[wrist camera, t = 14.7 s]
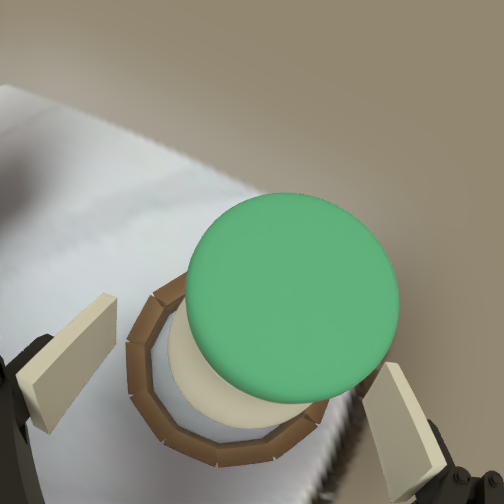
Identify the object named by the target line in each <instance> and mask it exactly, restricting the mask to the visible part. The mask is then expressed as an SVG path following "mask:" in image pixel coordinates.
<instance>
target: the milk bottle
mask: <svg viewBox="0 0 504 504" xmlns="http://www.w3.org/2000/svg"><path fill="white" fill-rule="evenodd" d="M398 315H399V293H398V286H397V281H396V277H395V274H394V271H393V268H392V265H391V263H390V261H389V258H388V256H387V255H386V253H385V251H384V249H383V248H382V246H381V244H380V243H379V241H378V240H377V239H376V238H375V236H374V235H373V234H372V233H371V232H370V231H369V230H368V228H367V227H366V226H364V224H362V223H361V222H360V221H359V220H358V219H357V218H355V217H354V216H353V215H351V214H350V213H348V212H347V211H345V210H344V209H342V208H340V207H338V206H337V205H335V204H332V203H330V202H328V201H325V200H323V199H320V198H316V197H313V196H309V195H304V194H296V193H273V194H267V195H262V196H258V197H254V198H251V199H248V200H246V201H244V202H241V203H239V204H237V205H236V206H234V207H232V208H230V209H229V210H228V211H226V212H225V213H223V214H222V215H221V216H220V217H219V218H218V219H216V220H215V221H214V222H213V224H212V225H211V226H210V227H209V228H208V229H207V231H206V232H205V233H204V235H203V236H202V238H201V240H200V241H199V243H198V245H197V247H196V248H195V251H194V253H193V255H192V257H191V260H190V263H189V267H188V271H187V276H186V284H185V298H184V299H183V301H182V302H181V304H180V305H179V307H178V309H177V311H176V313H175V315H174V318H173V320H172V323H171V327H170V331H169V336H168V358H169V364H170V369H171V372H172V375H173V378H174V380H175V382H176V384H177V387H178V388H179V390H180V391H181V393H182V394H183V396H184V397H185V398H186V400H187V401H188V402H189V403H190V404H191V405H192V406H193V407H194V408H195V409H197V410H198V411H199V412H200V413H202V414H203V415H205V416H206V417H208V418H210V419H212V420H213V421H216V422H218V423H220V424H224V425H227V426H231V427H235V428H244V429H257V428H266V427H270V426H274V425H278V424H281V423H283V422H285V421H288V420H290V419H292V418H293V417H295V416H297V415H298V414H300V413H301V412H302V411H304V410H305V409H306V408H308V407H309V406H310V405H311V404H312V403H313V402H318V401H323V400H326V399H330V398H333V397H335V396H338V395H340V394H342V393H344V392H346V391H348V390H350V389H351V388H353V387H354V386H356V385H357V384H358V383H360V382H361V381H362V380H363V379H364V378H365V377H367V376H368V375H369V374H370V373H371V372H372V371H373V370H374V369H375V368H376V367H377V365H378V364H379V363H380V361H381V360H382V359H383V357H384V356H385V354H386V352H387V351H388V349H389V347H390V345H391V342H392V340H393V337H394V334H395V331H396V327H397V322H398Z"/></svg>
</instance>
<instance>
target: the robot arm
mask: <svg viewBox="0 0 504 504" xmlns="http://www.w3.org/2000/svg"><path fill="white" fill-rule="evenodd" d="M116 320H117V297H114V296H111V295H108V294H105V293H103V294H102V295H101V296H100V297H98V298H97V299H96V300H95V301H94V302H93V303H91V304H90V305H89V306H88V307H87V308H86V309H85V310H84V311H82V312H81V313H80V314H79V315H78V316H77V317H76V318H75V319H74V320H72V321H71V322H70V323H69V324H68V325H67V326H66V327H65V328H64V329H63V330H62V331H60V332H59V333H58V334H57V335H56V336H55V337H53V336H51V335H49V334H45V335H43V336H40V337H38V338H36V339H35V340H34V341H33V342H32V343H31V344H30V345H29V346H27V347H26V348H25V349H24V351H22V352H21V353H20V354H19V355H17V356H16V357H15V358H14V359H13V360H12V361H11V362H10V363H9V364H8V365H7V366H6V367H5V364H4V360H3V358H2V357H1V356H0V504H45V502H44V498H43V495H42V492H41V488H40V485H39V481H38V477H37V473H36V469H35V465H34V461H33V456H32V451H31V446H30V441H29V435H28V429H27V425H26V421H27V420H28V418H29V417H31V420H32V422H33V425H34V426H36V427H37V428H39V429H40V430H42V431H44V432H46V433H47V434H49V435H50V433H51V432H52V430H53V429H54V427H55V426H56V424H57V423H58V422H59V420H60V419H61V417H62V416H63V415H64V413H65V412H66V410H67V409H68V408H69V406H70V405H71V403H72V402H73V401H74V399H75V398H76V397H77V395H78V394H79V393H80V391H81V390H82V388H83V387H84V386H85V384H86V383H87V382H88V380H89V379H90V378H91V376H92V375H93V374H94V372H95V371H96V370H97V368H98V367H99V366H100V364H101V363H102V362H103V361H104V359H105V358H106V357H107V355H108V354H109V353H110V351H111V350H112V349H113V348H114V346H115V345H116ZM362 402H363V405H364V408H365V411H366V415H367V418H368V421H369V424H370V428H371V431H372V434H373V438H374V441H375V445H376V448H377V451H378V455H379V459H380V462H381V466H382V469H383V473H384V477H385V480H386V484H387V488H388V492H389V496H390V500H391V503H398V502H405V501H407V500H408V499H410V498H411V497H412V496H413V495H414V494H415V496H416V499H417V500H415V501H414V502H413V503H411V504H504V482H503V479H502V477H501V476H500V474H499V473H497V472H495V471H488V472H486V473H485V475H483V476H482V477H481V478H479V477H471V475H470V474H469V472H468V471H467V470H465V469H464V468H462V467H458V466H457V467H456V466H455V464H454V462H453V460H452V458H451V456H450V453H449V451H448V449H447V447H446V445H445V444H444V441H443V439H442V437H441V434H440V432H439V430H438V428H437V427H436V426H435V425H434V423H432V421H431V420H426V418H425V416H424V413H423V412H422V409H421V407H420V405H419V404H418V402H417V400H416V397H415V395H414V394H413V392H412V390H411V388H410V386H409V384H408V382H407V380H406V378H405V377H404V374H403V372H402V371H401V369H400V367H399V365H398V364H397V363H391V362H385V363H384V365H383V367H382V369H381V370H380V372H379V374H378V376H377V377H376V379H375V381H374V383H373V384H372V386H371V388H370V389H369V391H368V393H367V394H366V396H365V397H364V399H363V401H362Z"/></svg>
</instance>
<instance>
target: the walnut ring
mask: <svg viewBox="0 0 504 504" xmlns="http://www.w3.org/2000/svg"><path fill="white" fill-rule="evenodd" d="M186 276H187V272H186V273H184V274H182V275H181V276H179V277H177V278H176V279H174V280H172V281H171V282H169V283H168V284H166V285H164V286H163V287H161V288H159V289H158V290H156V291H154V292H153V294H154V296H155V297H153V296H151V295H150V297H149V298H148V300H147V302H146V304H145V305H144V307H143V309H142V311H141V313H140V315H139V316H138V318H137V320H136V322H135V324H134V326H133V327H132V329H131V331H130V333H129V335H128V337H127V340H129V341H130V342H126V366H127V383H128V394H135V395H133V396H131V397H130V399H131V401H132V402H133V404H134V405H135V407H136V408H137V410H138V411H139V413H140V414H141V416H142V417H143V418H144V420H145V421H146V423H147V424H148V426H149V427H150V428H151V430H152V431H153V432H154V434H155V435H156V437H157V438H158V439H159V441H160V442H162V441H163V440H165V439H166V440H165V443H164V445H166V446H168V447H170V448H172V449H174V450H176V451H178V452H180V453H183V454H185V455H187V456H189V457H192V458H194V459H196V460H199V461H201V462H203V463H206V464H208V465H211V466H213V467H215V465H216V463H217V461H218V468H219V467H230V466H239V465H247V464H255V463H262V462H268V461H273V456H274V457H275V458H276V459H278V458H279V457H280V456H282V455H283V454H284V453H286V452H287V451H288V450H290V449H291V448H292V447H294V446H295V445H296V444H297V443H299V442H300V441H301V440H302V439H304V438H305V437H306V436H307V435H309V434H310V433H311V432H312V431H313V430H315V429H316V428H317V427H318V426H317V425H316V424H315V423H318V424H320V422H321V420H322V417H323V415H324V412H325V410H326V407H327V404H328V402H329V399H326V400H323V401H318V402H313V403H312V404H311V405H310V406H309V407H308V408H306V409H305V410H304V411H302V412H301V413H300V414H298V415H297V416H295V417H293V418H292V419H290V420H288V421H285V422H284V423H282V424H281V425H280V426H278V427H277V428H276V429H274V430H273V431H272V432H270V433H269V434H268V435H266V436H265V437H264V438H262V439H257V440H249V441H241V442H232V443H221V444H218V443H216V442H213V441H211V440H208V439H206V438H204V437H201V436H199V435H197V434H195V433H192V432H190V431H188V430H186V429H184V428H182V427H179V426H178V425H177V423H176V422H175V421H174V419H173V418H172V417H171V415H170V414H169V413H168V411H167V410H166V408H165V407H164V406H163V404H162V403H161V401H160V400H159V398H158V397H157V395H156V394H155V393H154V390H153V378H152V364H151V349H152V347H153V345H154V343H155V341H156V339H157V337H158V335H159V333H160V331H161V329H162V327H163V325H164V324H165V322H166V320H167V318H168V316H169V314H171V313H173V312H174V311H176V310H177V309H178V307H179V305H180V304H181V302H182V301H183V299H184V298H185V284H186ZM272 455H273V456H272Z"/></svg>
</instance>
